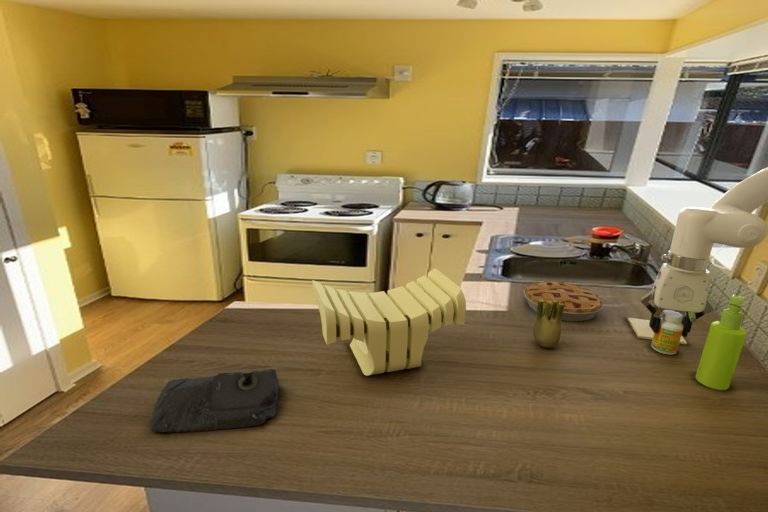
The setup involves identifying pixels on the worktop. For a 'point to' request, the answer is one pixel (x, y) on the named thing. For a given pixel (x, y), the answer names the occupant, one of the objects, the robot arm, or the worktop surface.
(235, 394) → the dark slate chunk
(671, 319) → the supplement bottle
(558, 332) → the fennel bulb
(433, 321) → the slatted curved stool
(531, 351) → the worktop surface
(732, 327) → the soap dispenser
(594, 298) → the pie
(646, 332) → the coaster
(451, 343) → the worktop surface
